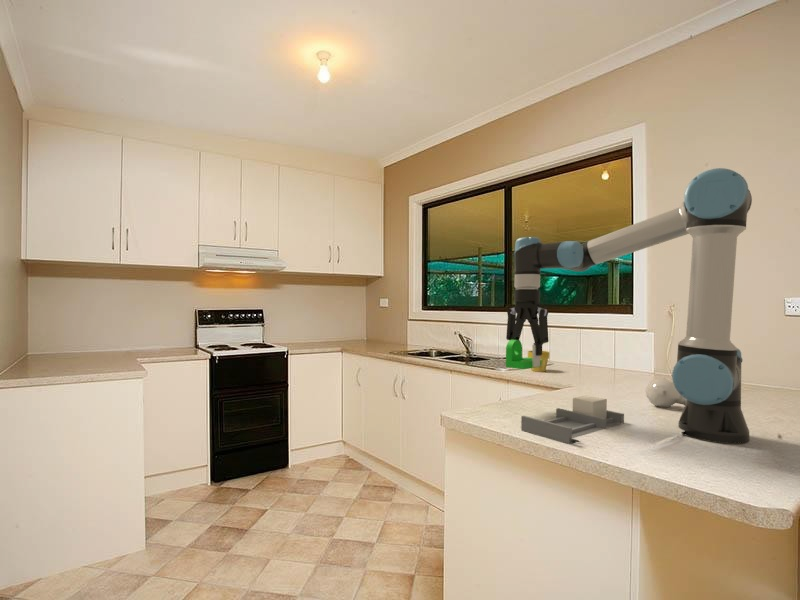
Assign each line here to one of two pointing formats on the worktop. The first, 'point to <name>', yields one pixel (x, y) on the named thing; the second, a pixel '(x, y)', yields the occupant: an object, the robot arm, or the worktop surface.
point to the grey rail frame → (569, 424)
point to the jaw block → (590, 406)
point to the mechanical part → (517, 356)
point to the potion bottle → (663, 393)
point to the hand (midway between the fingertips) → (526, 365)
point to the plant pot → (544, 360)
